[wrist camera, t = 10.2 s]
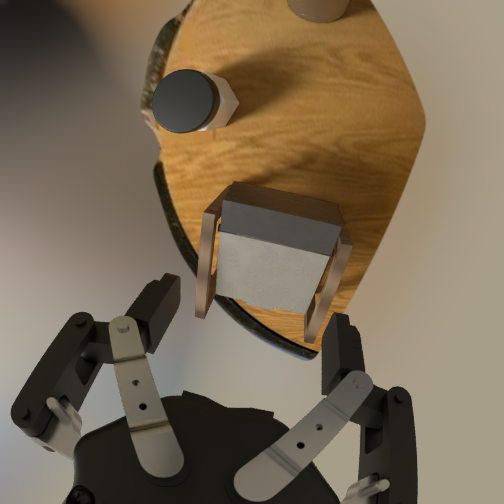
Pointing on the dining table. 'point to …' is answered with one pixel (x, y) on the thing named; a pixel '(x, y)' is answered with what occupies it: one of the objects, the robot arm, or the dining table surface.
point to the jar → (193, 101)
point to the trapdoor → (274, 246)
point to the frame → (204, 284)
